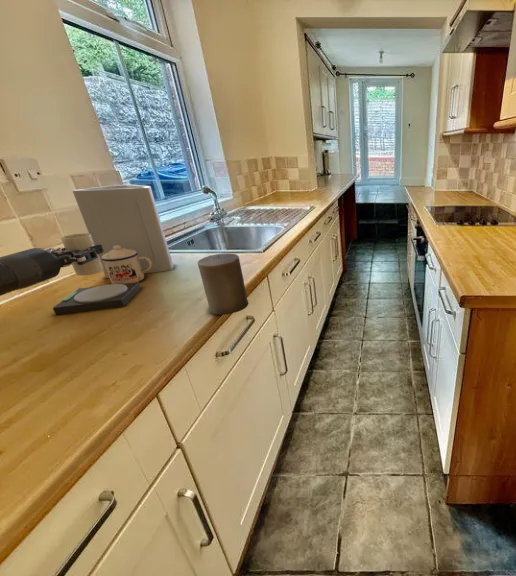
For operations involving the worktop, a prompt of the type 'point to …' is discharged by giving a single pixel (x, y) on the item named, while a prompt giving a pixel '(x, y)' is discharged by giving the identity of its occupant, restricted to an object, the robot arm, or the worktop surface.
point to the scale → (97, 298)
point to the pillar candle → (223, 283)
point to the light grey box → (125, 222)
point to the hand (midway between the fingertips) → (90, 248)
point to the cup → (81, 243)
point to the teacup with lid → (124, 265)
